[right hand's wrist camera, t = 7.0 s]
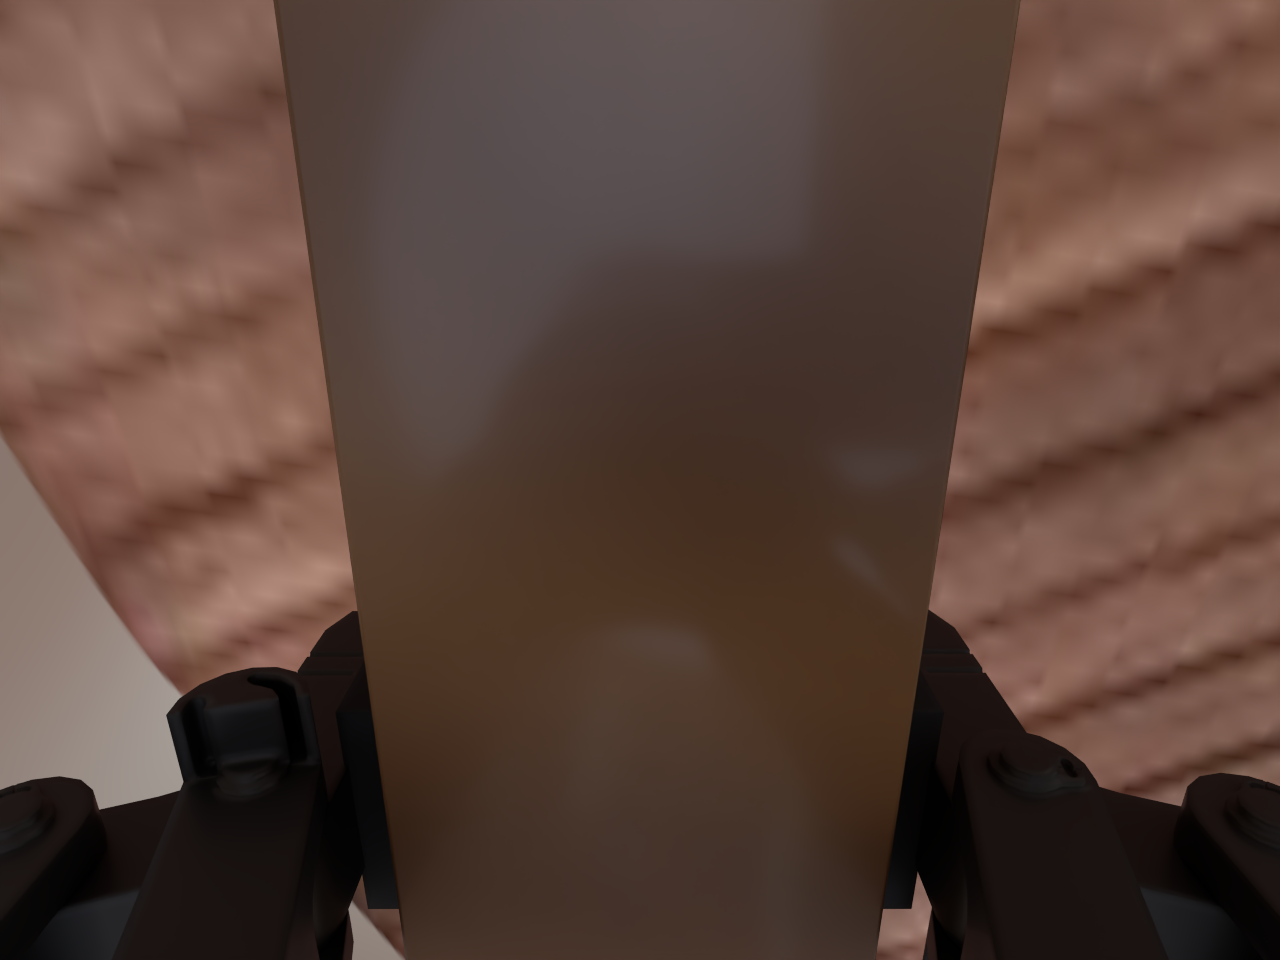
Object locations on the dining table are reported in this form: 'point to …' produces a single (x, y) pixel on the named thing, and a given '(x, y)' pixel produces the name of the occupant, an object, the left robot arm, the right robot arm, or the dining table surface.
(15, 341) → the dining table surface
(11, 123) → the dining table surface
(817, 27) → the post
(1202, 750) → the dining table surface
